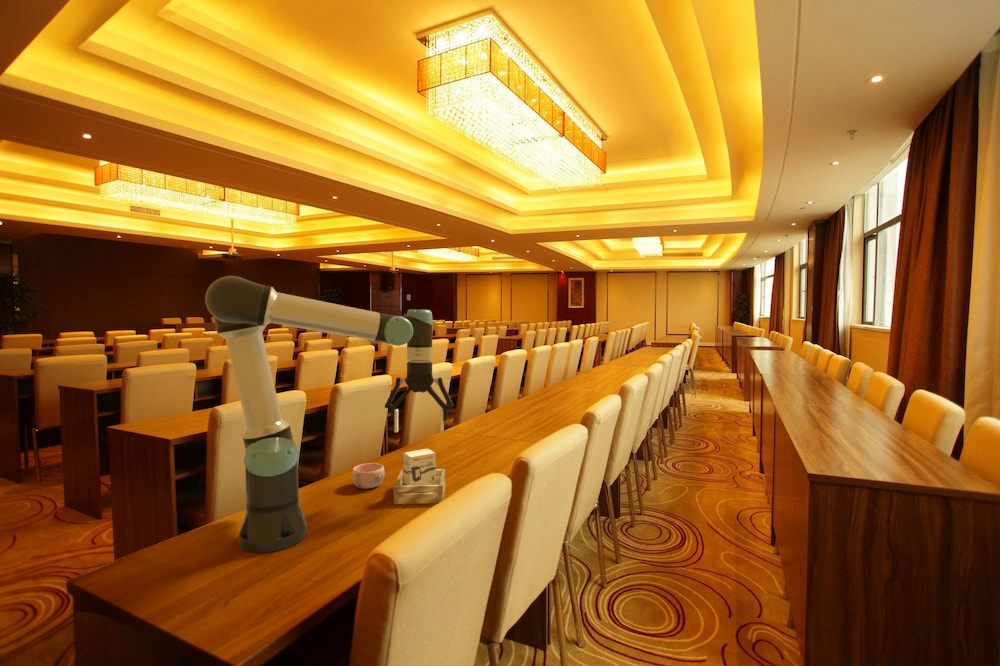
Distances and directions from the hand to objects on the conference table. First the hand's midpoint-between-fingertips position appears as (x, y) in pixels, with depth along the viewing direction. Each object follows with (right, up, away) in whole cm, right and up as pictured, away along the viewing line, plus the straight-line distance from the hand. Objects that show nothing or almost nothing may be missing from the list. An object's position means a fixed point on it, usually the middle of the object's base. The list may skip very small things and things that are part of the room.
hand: (419, 431), depth 148 cm
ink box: (0, -18, +1) cm, 18 cm away
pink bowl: (-17, -19, +9) cm, 27 cm away
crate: (0, -19, +1) cm, 19 cm away
